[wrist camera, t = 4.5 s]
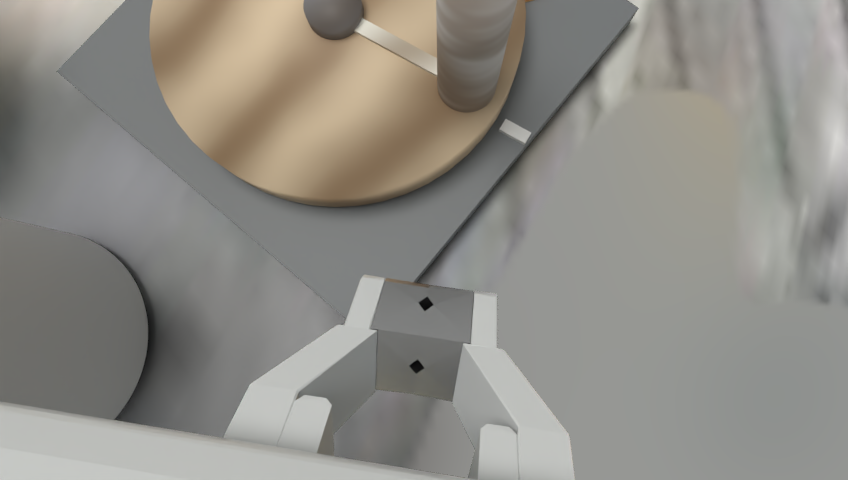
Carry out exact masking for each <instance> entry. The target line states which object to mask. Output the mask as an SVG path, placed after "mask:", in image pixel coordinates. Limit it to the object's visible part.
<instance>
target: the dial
mask: <svg viewBox="0 0 848 480" xmlns="http://www.w3.org/2000/svg"><path fill="white" fill-rule="evenodd" d="M525 22H526V7H525V0H153V3H152V8H151V13H150V33H149V39H150V49H151V59H152V64H153V68H154V72H155V76H156V80H157V83H158V85H159V88H160V90H161V93H162V95H163V98H164V100H165V103H166V104H167V106H168V108H169V109H170V111H171V113H172V115H173V116H174V118H175V120H176V121H177V123H178V124H179V125H180V127H181V128H182V129H183V130H184V132H185V133H186V134H187V135H188V137H189V138H190V139H191V140H192V142H194V143H195V144H196V145H197V146H198V147H199V148H200V149H201V150H202V151H203V152H204V153H205V154H206V155H208V156H209V157H210V158H211V159H213V160H214V161H215V162H217V163H218V164H220V165H221V166H223V167H224V168H225V169H227V170H228V171H230V172H231V173H233V174H234V175H235V176H237V177H238V178H240V179H241V180H243V181H244V182H246V183H248V184H250V185H252V186H253V187H255V188H257V189H259V190H261V191H263V192H265V193H268V194H271V195H274V196H276V197H279V198H282V199H285V200H288V201H293V202H298V203H302V204H307V205H314V206H328V207H345V206H360V205H366V204H371V203H377V202H382V201H386V200H389V199H392V198H395V197H398V196H401V195H404V194H407V193H409V192H411V191H414V190H416V189H418V188H420V187H422V186H424V185H426V184H429V183H430V182H432V181H433V180H435V179H436V178H438V177H440V176H441V175H443V174H444V173H446V172H448V171H449V170H450V169H451V168H453V167H454V166H455V165H456V164H457V163H459V162H460V161H461V160H462V159H463V158H465V157H466V156H467V155H468V154H469V153H470V152H471V151H472V150H473V149H474V147H475V146H476V145H477V144H478V143H479V142H480V141H481V140H482V139H483V138H484V136H485V135H486V133H487V132H488V131H489V129H490V128H491V126H492V125H493V123H494V122H495V121H496V119H497V117H498V115H499V113H500V111H501V109H502V107H503V106H504V104H505V102H506V100H507V97H508V94H509V92H510V89H511V86H512V83H513V80H514V77H515V74H516V71H517V68H518V64H519V61H520V57H521V52H522V47H523V42H524V37H525Z"/></svg>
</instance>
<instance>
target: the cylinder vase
mask: <svg viewBox="0 0 848 480" xmlns="http://www.w3.org/2000/svg"><path fill="white" fill-rule="evenodd" d="M147 347H148V320H147V314H146V309H145V305H144V301H143V298H142V295H141V293H140V290H139V288H138V286H137V284H136V282H135V280H134V279H133V277H132V276H131V274H130V273H129V271H128V270H127V269H126V267H125V266H124V265H123V264H122V263H121V262H120V261H119V260H118V259H117V258H116V257H115V256H114V255H113V254H111V253H110V252H109V251H108V250H106V249H105V248H103V247H102V246H100V245H98V244H97V243H95V242H93V241H91V240H88V239H86V238H83V237H81V236H78V235H74V234H70V233H66V232H61V231H57V230H53V229H48V228H44V227H40V226H35V225H31V224H27V223H22V222H18V221H14V220H9V219H5V218H1V217H0V401H2V402H8V403H14V404H20V405H27V406H33V407H39V408H45V409H51V410H57V411H63V412H69V413H75V414H81V415H87V416H93V417H100V418H106V419H112V420H114V419H115V418H116V417H117V416H118V414H119V413H120V412H121V411H122V409H123V408H124V406H125V405H126V404H127V402H128V400H129V399H130V397H131V395H132V394H133V392H134V390H135V388H136V386H137V383H138V381H139V378H140V376H141V373H142V370H143V367H144V363H145V359H146V354H147Z"/></svg>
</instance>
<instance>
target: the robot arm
mask: <svg viewBox="0 0 848 480" xmlns="http://www.w3.org/2000/svg"><path fill="white" fill-rule="evenodd" d="M497 331H498V296H497V294H496V293H489V292H481V291H474V292H473V291H470V290H463V289H455V288H448V287H441V286H434V285H427V284H421V283H415V282H409V281H403V280H397V279H391V278H382V277H376V276H370V275H363V276H362V278H361V279H360V282H359V285H358V288H357V291H356V293H355V296H354V299H353V302H352V305H351V307H350V310H349V313H348V316H347V318H346V321H345V324H344V325H336V326H335V327H333V328H332V329H330V330H329V331H327V332H326V333H324V334H323V335H321V336H320V337H318V338H317V339H316V340H314V341H313V342H311V343H310V344H308V345H307V346H305V347H304V348H302V349H301V350H299V351H298V352H296V353H295V354H294V355H292V356H291V357H289V358H288V359H286V360H285V361H283V362H282V363H280V364H279V365H277V366H276V367H274V368H273V369H272V370H270V371H269V372H267V373H266V374H264V375H263V376H261V377H260V378H258V379H257V380H255V381H254V382H252V383H251V384H250V385H249V387H248V389H247V391H246V393H245V395H244V397H243V399H242V401H241V403H240V405H239V407H238V409H237V411H236V413H235V415H234V417H233V419H232V421H231V423H230V425H229V427H228V429H227V431H226V432H225V434H224V436H223V438H221V437H215V436H209V435H203V434H197V433H191V432H185V431H179V430H172V429H166V428H160V427H154V426H148V425H142V424H136V423H130V422H124V421H118V420H112V419H106V418H100V417H93V416H87V415H81V414H75V413H69V412H63V411H57V410H51V409H45V408H39V407H33V406H27V405H20V404H14V403H8V402H2V401H0V480H575V475H574V467H573V459H572V451H571V443H570V436H569V434H568V433H567V431H566V430H565V429H564V428H563V426H562V425H561V423H560V422H559V421H558V419H557V418H556V417H555V416H554V414H553V413H552V412H551V410H550V409H549V408H548V406H547V405H546V404H545V402H544V401H543V400H542V399H541V397H540V396H539V395H538V393H537V392H536V391H535V389H534V388H533V387H532V385H531V384H530V383H529V381H528V380H527V379H526V377H525V376H524V375H523V374H522V372H521V371H520V370H519V368H518V367H517V366H516V364H515V363H514V362H513V360H512V359H511V358H510V356H509V355H508V354H507V353H506V351H505V350H504V349H498V345H497V344H498V342H497V341H498V336H497V335H498V332H497ZM375 390H383V391H391V392H399V393H406V394H414V395H419V396H425V397H430V398H436V399H441V400H447V401H452V404H453V406H454V408H455V410H456V412H457V414H458V416H459V418H460V420H461V422H462V425H463V427H464V429H465V431H466V433H467V435H468V437H469V439H470V441H471V443H472V445H473V447H474V449H475V453H474V457H473V461H472V464H471V468H470V472H469V476H468V478H464V477H458V476H452V475H445V474H439V473H433V472H427V471H421V470H415V469H409V468H403V467H397V466H391V465H385V464H379V463H373V462H367V461H361V460H355V459H349V458H343V457H337V456H334V444H333V434H334V433H335V432H336V431H337V430H338V429H339V428H340V427H341V426H342V425H343V424H344V423H345V422H346V421H347V420H348V419H349V418H350V417H351V416H352V415H353V414H354V413H355V412H356V411H357V410H358V409H359V408H360V407H361V406H362V405H363V404H364V403H365V402H366V401H367V400H368V398H369V397H370V396H371V395H372V394H373V393H374V392H375Z"/></svg>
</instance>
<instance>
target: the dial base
mask: <svg viewBox="0 0 848 480" xmlns="http://www.w3.org/2000/svg"><path fill="white" fill-rule="evenodd" d="M152 3H153V0H125V1H124V2H123V4H122V5H121V6H120V7H119V8H118V9H117V10H116V11H115V12H114V13H113V14H112V15H111V16H110V17H109V18H108V19H107V20H106V21H105V22H104V23H103V24H102V25H101V26H100V27H99V28H98V29H97V30H96V31H95V32H94V33H93V34H92V35H91V37H90V38H89V39H88V40H87V41H86V42H85V43H84V44H83V45H82V46H81V47H80V48H79V49H78V50H77V51H76V52H75V53H74V54H73V55H72V56H71V57H70V58H69V59H68V60H67V61H66V62H65V63H64V64H63V65H62V66H61V67H60V68H59V70H58V71H57V72H58V73H59V74H60V75H61V76H63V77H64V78H65V79H66V80H67V81H68V82H70V83H71V84H72V85H73V86H74V87H75V88H77V89H78V90H79V91H80V92H81V93H82V94H84V95H85V96H86V97H87V98H88V99H90V100H91V101H92V102H93V103H94V104H95V105H97V106H98V107H99V108H100V109H101V110H102V111H104V112H105V113H106V114H107V115H108V116H109V117H111V118H112V119H113V120H114V121H115V122H116V123H118V124H119V125H120V126H121V127H122V128H123V129H125V130H126V131H127V132H128V133H129V134H130V135H132V136H133V137H134V138H135V139H136V140H137V141H139V142H140V143H141V144H142V145H143V146H144V147H146V148H147V149H148V150H149V151H150V152H151V153H153V154H154V155H155V156H156V157H157V158H158V159H160V160H161V161H162V162H163V163H164V164H165V165H167V166H168V167H169V168H170V169H171V170H172V171H174V172H175V173H176V174H177V175H178V176H180V177H181V178H182V179H183V180H184V181H185V182H187V183H188V184H189V185H190V186H191V187H192V188H194V189H195V190H196V191H197V192H198V193H199V194H201V195H202V196H203V197H204V198H205V199H206V200H208V201H209V202H210V203H211V204H212V205H213V206H215V207H216V208H217V209H218V210H219V211H220V212H222V213H223V214H224V215H225V216H226V217H227V218H229V219H230V220H231V221H232V222H233V223H234V224H236V225H237V226H238V227H239V228H240V229H241V230H243V231H244V232H245V233H246V234H247V235H248V236H250V237H251V238H252V239H253V240H254V241H255V242H257V243H258V244H259V245H260V246H261V247H262V248H264V249H265V250H266V251H267V252H268V253H270V254H271V255H272V256H273V257H274V258H275V259H277V260H278V261H279V262H280V263H281V264H282V265H284V266H285V267H286V268H287V269H288V270H289V271H291V272H292V273H293V274H294V275H295V276H296V277H298V278H299V279H300V280H301V281H302V282H303V283H305V284H306V285H307V286H308V287H309V288H310V289H312V290H313V291H314V292H315V293H316V294H317V295H319V296H320V297H321V298H322V299H323V300H324V301H326V302H327V303H328V304H329V305H330V306H331V307H333V308H334V309H335V310H336V311H337V312H338V313H340V314H341V315H342V316H343V317H344V318H345V319H346V318H347V316H348V313H349V310H350V307H351V305H352V302H353V299H354V296H355V293H356V291H357V288H358V285H359V282H360V279H361V278H362V276H363V275H370V276H376V277H382V278H391V279H397V280H403V281H409V282H415V283H416V282H417V281H418V279H419V278H420V277H421V276H422V275H423V273H424V272H425V271H426V270H427V269H428V267H429V266H430V265H431V264H432V262H433V261H434V260H435V259H436V258H437V256H438V255H439V254H440V253H441V251H442V250H443V249H444V248H445V247H446V245H447V244H448V243H449V242H450V241H451V239H452V238H453V237H454V236H455V234H456V233H457V232H458V231H459V230H460V228H461V227H462V226H463V225H464V224H465V222H466V221H467V220H468V219H469V217H470V216H471V215H472V214H473V213H474V211H475V210H476V209H477V208H478V206H479V205H480V204H481V203H482V202H483V200H484V199H485V198H486V197H487V196H488V194H489V193H490V192H491V191H492V189H493V188H494V187H495V186H496V185H497V183H498V182H499V181H500V180H501V178H502V177H503V176H504V175H505V174H506V172H507V171H508V170H509V169H510V168H511V166H512V165H513V164H514V163H515V161H516V160H517V159H518V158H519V157H520V155H521V154H522V153H523V152H524V151H525V149H526V148H527V147H528V146H529V144H530V143H531V142H532V141H533V140H534V138H535V137H536V136H537V135H538V133H539V132H540V131H541V130H542V129H543V127H544V126H545V125H546V124H547V123H548V121H549V120H550V119H551V118H552V116H553V115H554V114H555V113H556V112H557V110H558V109H559V108H560V107H561V105H562V104H563V103H564V102H565V101H566V99H567V98H568V97H569V96H570V95H571V93H572V92H573V91H574V90H575V88H576V87H577V86H578V85H579V84H580V82H581V81H582V80H583V79H584V78H585V76H586V75H587V74H588V73H589V71H590V70H591V69H592V68H593V67H594V65H595V64H596V63H597V62H598V60H599V59H600V58H601V57H602V56H603V54H604V53H605V52H606V51H607V50H608V48H609V47H610V46H611V45H612V43H613V42H614V41H615V40H616V39H617V37H618V36H619V35H620V34H621V32H622V31H623V30H624V29H625V28H626V26H627V25H628V24H629V23H630V21H631V19H632V18H633V16H634V15H635V13H636V12H637V10H638V7H636V6H635V5H633V4H632V3H631V2H629V1H628V0H525V7H526V22H525V37H524V42H523V47H522V52H521V57H520V61H519V64H518V68H517V71H516V74H515V77H514V80H513V83H512V86H511V89H510V92H509V94H508V97H507V100H506V102H505V104H504V106H503V107H502V109H501V111H500V113H499V115H498V117H497V119H496V121H495V122H494V123H493V125H492V126H491V128H490V129H489V131H488V132H487V133H486V135H485V136H484V138H483V139H482V140H481V141H480V142H479V143H478V144H477V145H476V146H475V147H474V149H473V150H472V151H471V152H470V153H469V154H468V155H467V156H466V157H465V158H463V159H462V160H461V161H460V162H459V163H457V164H456V165H455V166H454V167H453V168H451V169H450V170H449V171H448V172H446V173H444V174H443V175H441V176H440V177H438V178H436V179H435V180H433V181H432V182H430V183H429V184H426V185H424V186H422V187H420V188H418V189H416V190H414V191H411V192H409V193H407V194H404V195H401V196H398V197H395V198H392V199H389V200H386V201H382V202H377V203H371V204H366V205H360V206H345V207H328V206H314V205H307V204H302V203H298V202H293V201H288V200H285V199H282V198H279V197H276V196H274V195H271V194H268V193H265V192H263V191H261V190H259V189H257V188H255V187H253V186H252V185H250V184H248V183H246V182H244V181H243V180H241V179H240V178H238V177H237V176H235V175H234V174H233V173H231V172H230V171H228V170H227V169H225V168H224V167H223V166H221V165H220V164H218V163H217V162H215V161H214V160H213V159H211V158H210V157H209V156H208V155H206V154H205V153H204V152H203V151H202V150H201V149H200V148H199V147H198V146H197V145H196V144H195V143H194V142H192V140H191V139H190V138H189V137H188V135H187V134H186V133H185V132H184V130H183V129H182V128H181V127H180V125H179V124H178V123H177V121H176V120H175V118H174V116H173V115H172V113H171V111H170V109H169V108H168V106H167V104H166V103H165V100H164V98H163V95H162V93H161V90H160V88H159V85H158V83H157V80H156V76H155V72H154V68H153V64H152V59H151V49H150V39H149V33H150V13H151V8H152Z"/></svg>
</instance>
